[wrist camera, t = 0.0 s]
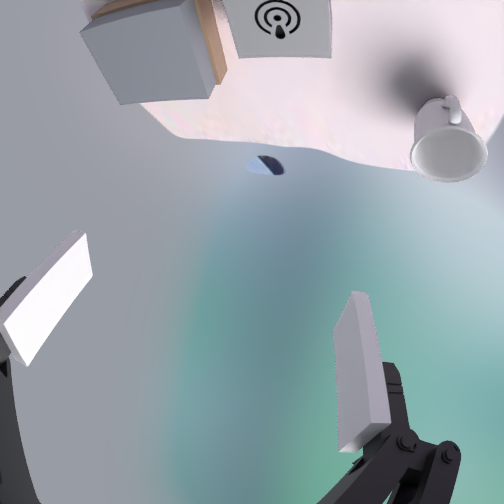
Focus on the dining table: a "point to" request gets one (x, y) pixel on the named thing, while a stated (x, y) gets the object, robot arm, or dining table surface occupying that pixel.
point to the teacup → (446, 142)
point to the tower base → (157, 49)
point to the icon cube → (280, 27)
